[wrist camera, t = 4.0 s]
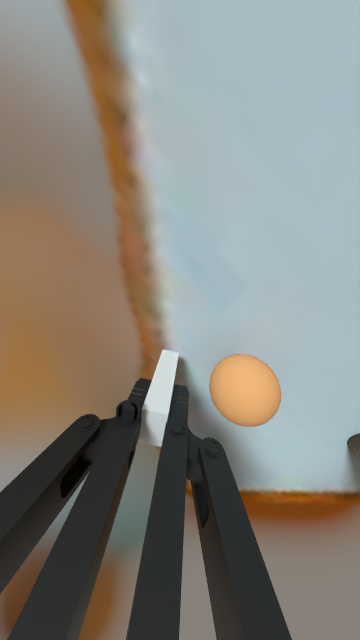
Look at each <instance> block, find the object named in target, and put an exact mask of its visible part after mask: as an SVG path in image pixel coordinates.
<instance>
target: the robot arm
mask: <svg viewBox="0 0 360 640" xmlns="http://www.w3.org/2000/svg"><path fill="white" fill-rule="evenodd" d="M178 356H179V353H178V352H173V351H168V350H163V351H162V354H161V356H160V359H159V362H158V365H157V368H156V371H155V373H154V376H153V379H152V380H148V379H143V378H140V379H139V380H138V381H137V382H136V383H135V385H134V387H133V389H132V392H131V394H130V396H129V398H128V400H126V401H123V402H121V403H119V405H118V406H117V409H116V417H114V418H111V419H103V420H99V418H98V417H97V416H96V415H93V414H87V415H84V416H81V417H80V418H78V419H77V420H76V421H75V422H74V423H73V424H72V425H71V426H70V427H68V428H67V429H66V430H65V431H64V432H63V433H62V434H61V435H60V436H59V437H58V438H57V439H56V440H55V441H54V442H53V443H52V444H51V445H49V446H48V447H47V448H46V450H44V451H43V452H42V453H41V454H40V455H39V456H38V457H37V458H36V459H35V460H34V461H33V462H32V463H31V464H30V465H28V467H26V468H25V469H24V470H23V471H22V472H21V473H20V474H19V475H18V476H17V477H16V478H15V479H14V480H13V481H12V482H11V483H10V484H9V485H7V486H6V487H5V488H4V489H3V490H2V491H1V492H0V594H1V593H2V591H3V590H4V588H5V587H6V586H7V584H8V583H9V581H10V580H11V579H12V577H13V576H14V575H15V573H16V572H17V570H18V569H19V568H20V566H21V565H22V564H23V562H24V561H25V559H26V558H27V557H28V555H29V554H30V553H31V551H32V550H33V548H34V547H35V546H36V544H37V543H38V542H39V540H40V539H41V537H42V536H43V535H44V533H45V532H46V531H47V529H48V528H49V526H50V525H51V524H52V522H53V521H54V519H55V518H56V517H57V515H58V514H59V512H60V511H61V510H62V509H63V507H64V506H65V504H66V503H67V501H68V500H69V499H70V497H71V496H72V495H73V493H74V492H75V491H76V489H77V488H78V487H79V485H80V483H81V482H82V481H83V480H84V478H85V477H86V476H87V474H88V473H89V474H88V476H87V478H86V480H85V482H84V484H83V486H82V488H81V490H80V492H79V495H78V497H77V499H76V501H75V503H74V505H73V507H72V509H71V511H70V513H69V515H68V517H67V519H66V521H65V523H64V525H63V527H62V529H61V531H60V533H59V535H58V537H57V539H56V541H55V543H54V546H53V548H52V550H51V552H50V554H49V556H48V558H47V560H46V562H45V564H44V566H43V568H42V570H41V572H40V574H39V576H38V578H37V580H36V582H35V584H34V586H33V588H32V591H31V592H30V595H29V597H28V599H27V601H26V603H25V605H24V607H23V609H22V611H21V613H20V615H19V617H18V619H17V621H16V623H15V625H14V627H13V629H12V631H11V634H10V635H9V637H8V639H7V640H78V638H79V634H80V631H81V628H82V625H83V621H84V618H85V615H86V611H87V608H88V605H89V602H90V598H91V595H92V591H93V588H94V585H95V582H96V579H97V575H98V572H99V569H100V566H101V562H102V559H103V556H104V553H105V549H106V546H107V543H108V540H109V536H110V533H111V530H112V526H113V523H114V519H115V517H116V513H117V510H118V506H119V504H120V500H121V497H122V494H123V490H124V487H125V484H126V480H127V477H128V474H129V471H130V468H131V464H132V461H133V458H134V454H135V449H136V445H137V441H138V442H140V443H145V444H150V445H155V446H159V447H161V451H160V456H159V461H158V467H157V474H156V479H155V484H154V489H153V495H152V500H151V506H150V511H149V516H148V522H147V527H146V534H145V538H144V544H143V549H142V555H141V560H140V566H139V571H138V577H137V582H136V587H135V594H134V598H133V604H132V610H131V615H130V621H129V626H128V631H127V637H126V640H179V625H180V601H181V579H182V558H183V536H184V535H183V534H184V513H185V492H186V478H187V479H188V480H190V481H191V487H192V493H193V499H194V505H195V511H196V517H197V523H198V529H199V535H200V541H201V547H202V553H203V559H204V565H205V572H206V578H207V584H208V589H209V596H210V601H211V607H212V614H213V620H214V626H215V632H216V638H217V640H292V639H291V636H290V633H289V631H288V628H287V625H286V622H285V620H284V616H283V614H282V611H281V608H280V606H279V602H278V600H277V597H276V594H275V592H274V588H273V586H272V583H271V580H270V577H269V574H268V572H267V569H266V566H265V563H264V561H263V558H262V555H261V552H260V550H259V546H258V544H257V541H256V538H255V535H254V532H253V530H252V527H251V524H250V522H249V519H248V516H247V513H246V510H245V507H244V505H243V502H242V499H241V496H240V493H239V491H238V488H237V485H236V482H235V479H234V477H233V474H232V471H231V468H230V465H229V463H228V460H227V457H226V454H225V451H224V449H223V447H222V445H221V444H220V443H219V442H218V441H217V440H215V439H213V438H205V439H204V440H202V439H200V438H198V437H196V436H195V435H193V434H192V433H191V431H190V430H189V428H188V425H187V418H188V398H189V392H188V389H187V387H185V386H180V385H175V384H174V379H175V373H176V367H177V362H178ZM89 471H90V472H89Z"/></svg>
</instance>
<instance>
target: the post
mask: <svg viewBox="0 0 360 640" xmlns="http://www.w3.org/2000/svg"><path fill="white" fill-rule="evenodd" d="M347 444H348V446H349V447H350V449H351V450H352V451H353V452H354V454H355V455H356V456H357V457H358V458H359V460H360V434H356V435H354V436H352V437H351V438H350V439H349V440H348V443H347Z"/></svg>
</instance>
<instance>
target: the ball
mask: <svg viewBox="0 0 360 640" xmlns="http://www.w3.org/2000/svg"><path fill="white" fill-rule="evenodd" d="M209 388H210V394H211V398H212V401H213V403H214V405H215V406H216V408H217V409H218V411H219V412H220V413H221V414H222V415H223V416H224V417H225V418H227V419H228V420H229V421H231V422H233V423H235V424H238V425H241V426H247V427H253V426H259V425H262V424H264V423H266V422H267V421H269V420H270V419H271V418H272V417H273V416H274V415H275V414H276V412H277V410H278V408H279V405H280V401H281V389H280V385H279V382H278V379H277V377H276V375H275V373H274V372H273V371H272V369H271V368H270V367H269V366H268V365H267V364H266V363H264V362H263V361H261V360H260V359H258V358H256V357H253V356H250V355H245V354H236V355H232V356H229V357H226V358H224V359H223V360H221V361H220V362H219V363H218V364H217V365H216V367H215V368H214V370H213V372H212V374H211V377H210V384H209Z"/></svg>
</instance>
